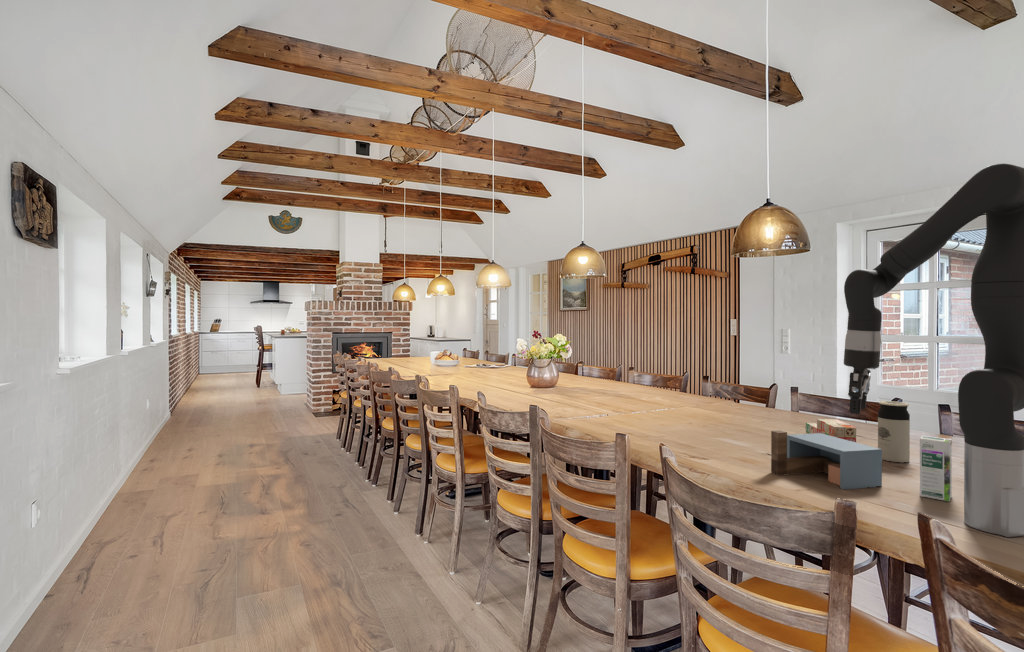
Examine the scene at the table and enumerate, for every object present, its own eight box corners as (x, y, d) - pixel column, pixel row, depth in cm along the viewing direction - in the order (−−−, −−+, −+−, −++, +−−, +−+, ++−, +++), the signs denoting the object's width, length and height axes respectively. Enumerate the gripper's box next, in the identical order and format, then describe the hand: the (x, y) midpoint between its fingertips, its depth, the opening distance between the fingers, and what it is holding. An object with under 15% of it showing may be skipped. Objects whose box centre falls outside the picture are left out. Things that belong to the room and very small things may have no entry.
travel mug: (898, 456, 162) (898, 401, 162) (915, 463, 154) (916, 405, 154) (872, 456, 162) (872, 400, 162) (888, 462, 154) (888, 404, 154)
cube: (856, 485, 133) (856, 468, 133) (842, 486, 132) (842, 469, 132) (842, 480, 137) (842, 463, 137) (828, 481, 137) (828, 464, 137)
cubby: (881, 486, 132) (881, 449, 132) (844, 489, 129) (844, 451, 129) (820, 465, 151) (820, 433, 151) (786, 467, 149) (786, 434, 149)
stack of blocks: (805, 449, 171) (805, 413, 171) (825, 450, 170) (825, 414, 170) (833, 467, 150) (833, 426, 150) (856, 468, 149) (856, 426, 149)
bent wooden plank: (844, 477, 140) (844, 434, 140) (791, 480, 136) (791, 436, 136) (821, 469, 148) (821, 428, 148) (771, 472, 144) (771, 430, 144)
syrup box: (919, 496, 124) (919, 438, 124) (922, 491, 128) (922, 434, 128) (949, 502, 120) (949, 441, 120) (952, 496, 124) (952, 437, 124)
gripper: (876, 351, 120) (871, 418, 121) (884, 348, 131) (879, 409, 132) (839, 348, 125) (835, 412, 126) (849, 345, 136) (845, 404, 137)
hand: (857, 411), depth 129 cm, fingers open, 8 cm apart
